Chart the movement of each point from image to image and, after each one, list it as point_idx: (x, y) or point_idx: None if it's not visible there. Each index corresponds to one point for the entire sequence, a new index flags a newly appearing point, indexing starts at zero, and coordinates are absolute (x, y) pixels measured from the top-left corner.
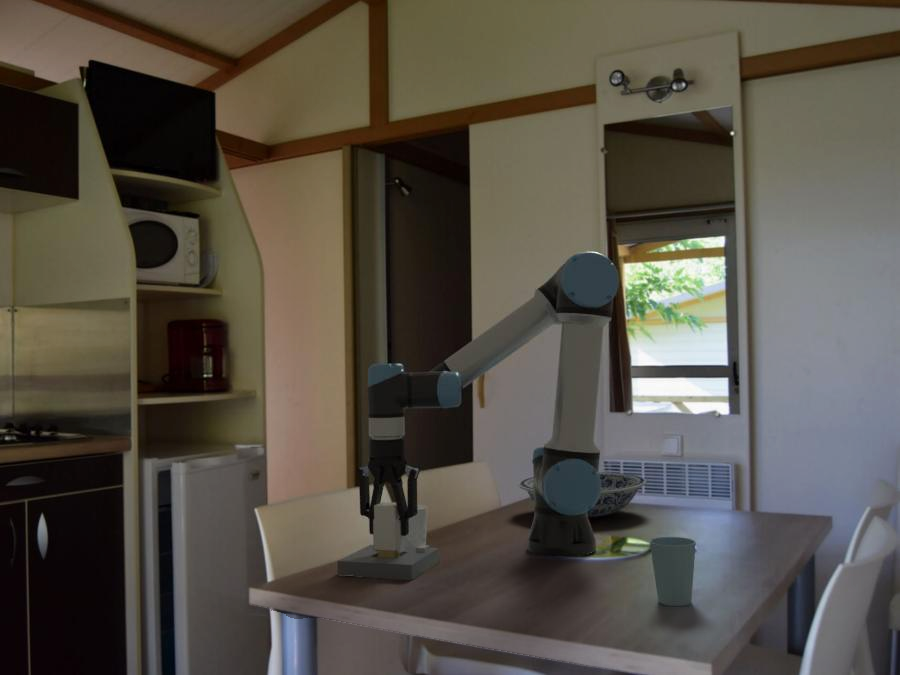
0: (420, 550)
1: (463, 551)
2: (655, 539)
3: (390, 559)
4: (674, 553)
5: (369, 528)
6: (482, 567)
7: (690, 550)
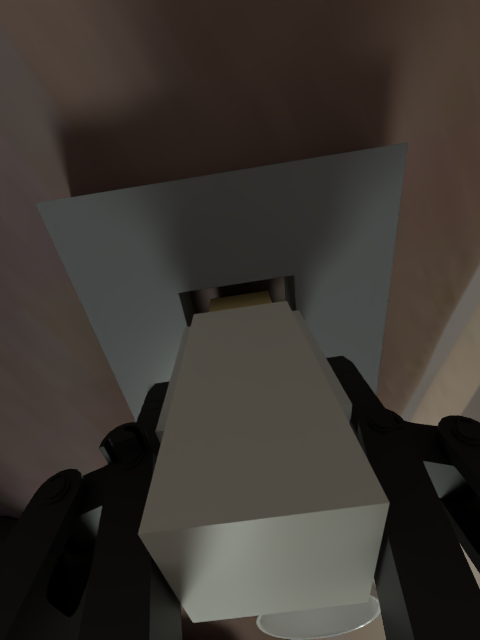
0: None
1: None
2: None
3: (189, 262)
4: None
5: (359, 374)
6: (17, 409)
7: None
